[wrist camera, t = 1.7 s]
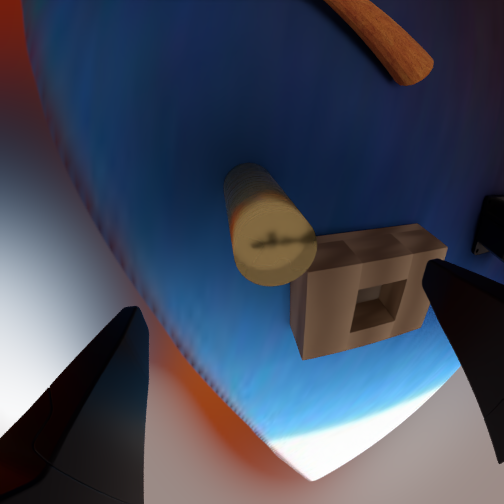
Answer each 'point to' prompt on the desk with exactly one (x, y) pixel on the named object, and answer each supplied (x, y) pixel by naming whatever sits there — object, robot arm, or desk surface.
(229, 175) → the brass pin
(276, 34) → the desk surface
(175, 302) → the desk surface
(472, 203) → the desk surface
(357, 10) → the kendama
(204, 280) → the desk surface
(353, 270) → the bore block
